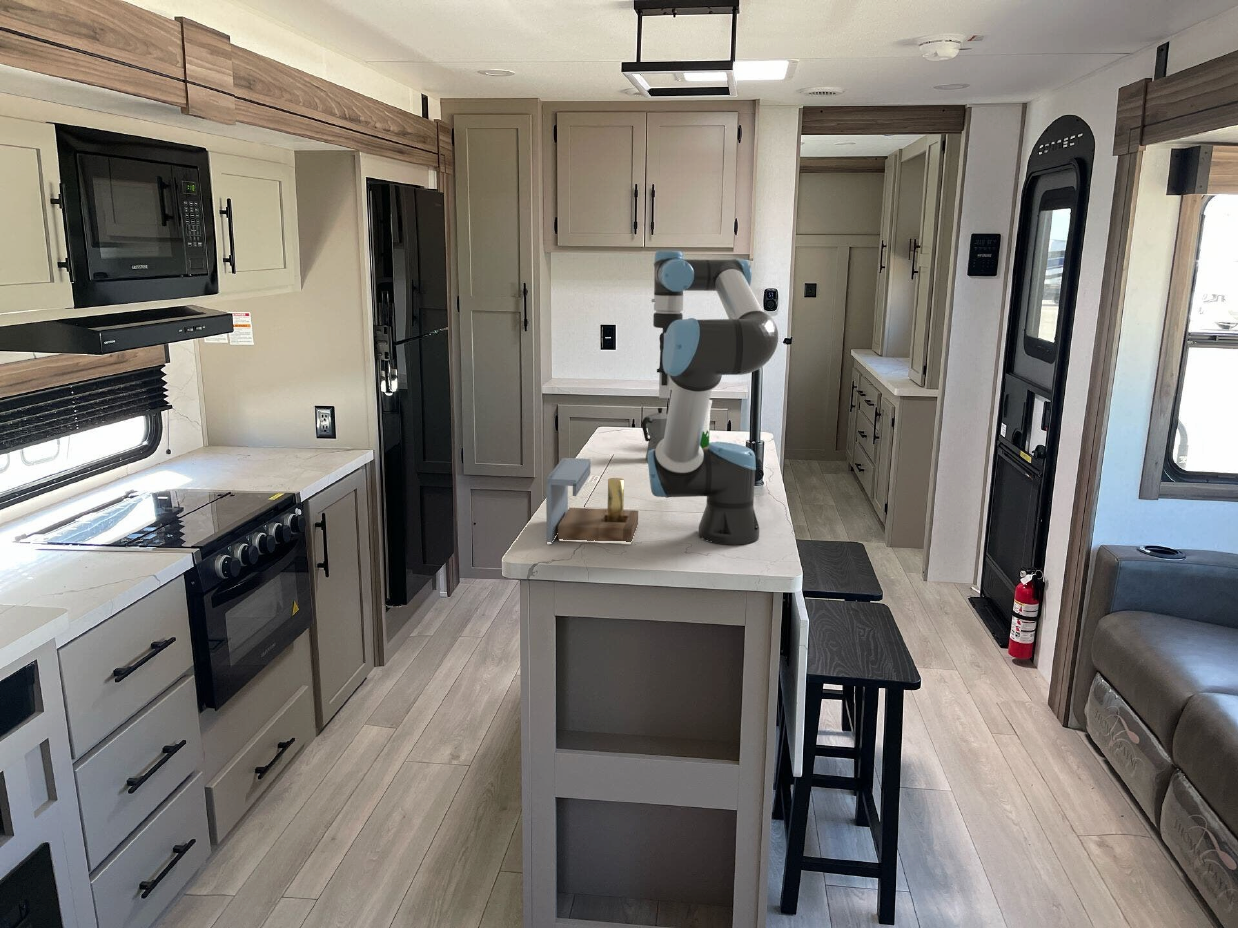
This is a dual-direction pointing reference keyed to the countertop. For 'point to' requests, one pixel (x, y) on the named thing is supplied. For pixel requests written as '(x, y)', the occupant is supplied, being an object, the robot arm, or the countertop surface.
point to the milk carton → (706, 428)
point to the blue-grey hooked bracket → (563, 490)
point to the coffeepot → (654, 429)
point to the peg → (615, 500)
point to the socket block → (596, 525)
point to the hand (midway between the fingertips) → (666, 393)
